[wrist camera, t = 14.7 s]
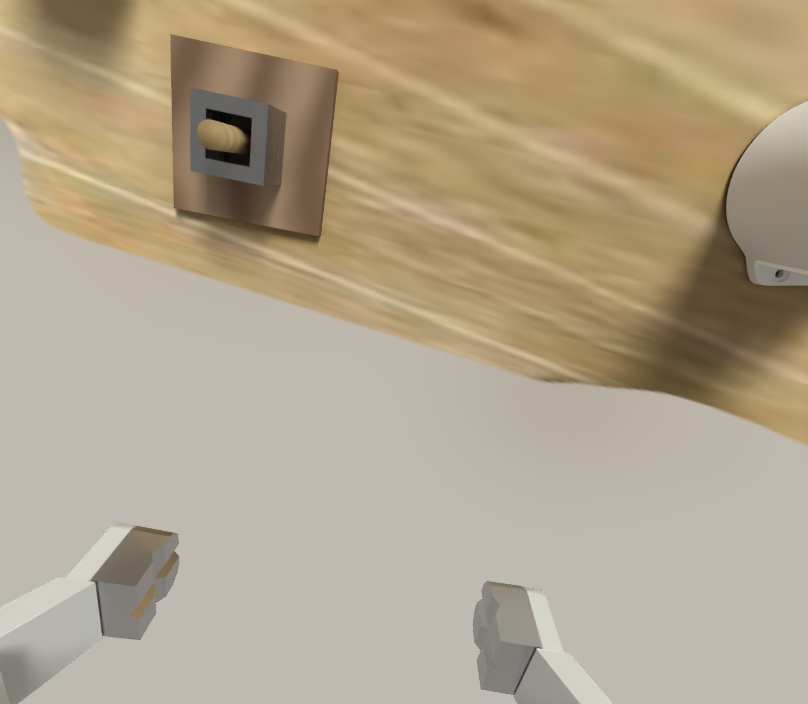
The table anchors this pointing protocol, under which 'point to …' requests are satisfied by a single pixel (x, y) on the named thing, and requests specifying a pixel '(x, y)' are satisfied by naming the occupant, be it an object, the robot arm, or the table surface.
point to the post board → (299, 134)
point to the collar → (263, 138)
